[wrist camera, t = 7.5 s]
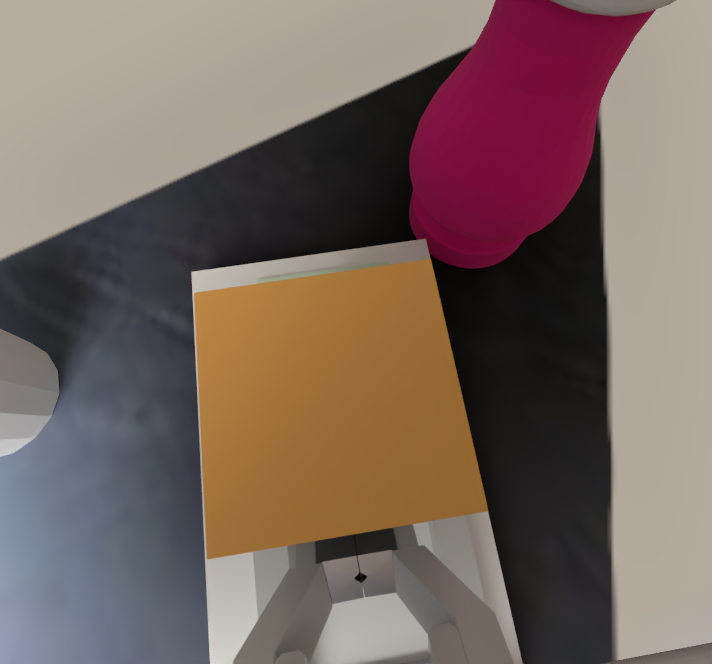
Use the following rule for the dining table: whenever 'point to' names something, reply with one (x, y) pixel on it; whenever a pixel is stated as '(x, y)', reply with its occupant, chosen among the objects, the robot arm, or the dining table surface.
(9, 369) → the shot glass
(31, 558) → the dining table surface
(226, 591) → the white slider switch base
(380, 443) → the plate
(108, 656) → the dining table surface
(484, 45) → the pepper mill
